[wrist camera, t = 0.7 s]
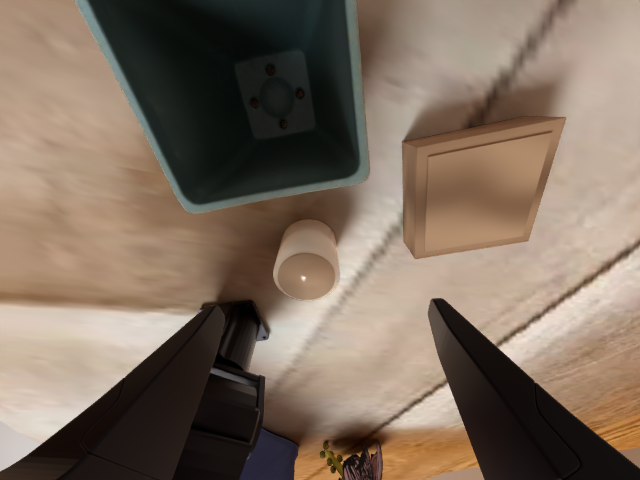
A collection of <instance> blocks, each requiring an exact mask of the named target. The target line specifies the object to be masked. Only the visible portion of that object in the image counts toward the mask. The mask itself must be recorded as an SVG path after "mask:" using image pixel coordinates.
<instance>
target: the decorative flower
mask: <svg viewBox="0 0 640 480" xmlns="http://www.w3.org/2000/svg"><path fill="white" fill-rule="evenodd" d="M364 443H365V442H364ZM328 447H329V446H328V443H326V442H325V443H324V444H323V448H324V449H328ZM363 447H364V448H363V449H362V451H363V452H362V454H361V457H359V456H358V455H356V454H355V455H352V456H350V457H349V458H347V459H346V460H345V461H343V462H344V463H343V466H342V464H341V463H340V462H342V460H343V459H342V456H341V455H337V459H336V458H335V457H334V453H333V452H332V451H330V452H329V451H327V450H324V451H325V452H324V451H321V452H320V457H321V458H322V459H323V458H324V457H325V453H326V454H327V456H328V459H327V464H328V466H331V465H332V464H333V466H331V469H330V470H331V472H332V473H335V472H336V469H337V471H338V472H339V473H340V475H341V476H342V479H341V478H340V477H339V480H381V479H382V470H383V461H382V451H381V446H380V442H379V441H378V440H377V451H376V453H375V454H371V459H370V456H369V452H368V449H367V446H366V444H365V445H363Z"/></svg>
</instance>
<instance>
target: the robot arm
mask: <svg viewBox="0 0 640 480" xmlns="http://www.w3.org/2000/svg"><path fill="white" fill-rule="evenodd" d="M248 304H249V305H248ZM428 318H429V322H430V326H431V330H432V334H433V337H434V341H435V345H436V349H437V353H438V356H439V359H440V362H441V365H442V367H443V370H444V373H445V375H446V378H447V381H448V383H449V386H450V389H451V391H452V394H453V397H454V399H455V402H456V405H457V407H458V410H459V413H460V415H461V418H462V421H463V423H464V426H465V429H466V431H467V434H468V437H469V439H470V442H471V445H472V447H473V450H474V453H475V455H476V458H477V461H478V463H479V466H480V469H481V471H482V474H483V477H484V479H485V480H640V468H639V467H637V466H636V465H635V464H634V463H632V462H631V461H629V459H627V458H626V457H625V456H624V455H622V454H621V453H620V452H618V451H617V450H616V449H615V448H613V447H612V446H611V445H610V444H608V443H607V442H606V441H605V440H603V439H602V438H601V437H600V436H598V435H597V434H596V433H595V432H594V431H592V430H591V429H590V428H589V427H587V426H586V425H585V424H584V423H583V422H581V421H580V420H579V419H578V418H576V417H575V416H574V415H573V414H572V413H570V412H569V411H568V410H567V409H566V408H565V407H563V406H562V405H561V404H560V403H559V402H558V401H557V400H555V399H554V398H553V397H552V396H551V395H550V394H549V393H548V392H546V391H545V390H544V389H543V388H542V387H541V386H540V385H539V384H537V383H535V382H534V380H533V379H532V378H531V377H530V376H528V375H527V374H526V373H525V372H524V371H523V370H522V369H521V368H520V367H519V366H517V365H516V364H515V363H514V362H513V361H512V360H511V359H510V358H509V357H507V356H506V355H505V354H504V353H503V352H502V351H501V350H500V349H499V348H497V347H496V346H495V345H494V344H493V343H492V342H491V341H490V340H489V339H487V338H486V337H485V336H484V335H483V334H482V333H481V332H480V331H479V330H477V329H476V328H475V327H474V326H473V325H472V324H471V323H470V322H469V321H467V320H466V319H465V318H464V317H463V316H462V315H461V314H460V313H459V312H457V311H456V310H455V309H454V308H453V307H452V306H451V305H450V304H449V303H447V302H446V301H445V300H444V299H442V298H433V299H431V301H430V305H429V309H428ZM268 338H269V333H268V331H267V329H266V327H265V325H264V323H263V321H262V319H261V317H260V314H259V312H258V310H257V308H256V306H255V304H254V302H253V301H251V300H247V301H240V302H234V303H227V304H220V305H208V306H207V307H202V308H200V310H199V312H198V314H197V315H196V316H195V317H194V318H193V319H191V320H190V321H189V322H188V323H187V324H186V325H185V326H183V327H182V328H181V329H180V330H179V331H178V332H176V333H175V334H174V335H173V336H172V337H171V338H169V339H168V340H167V341H166V342H165V343H164V344H163V345H161V346H160V347H159V348H158V349H157V350H156V351H154V352H153V353H152V354H151V355H150V356H149V357H147V358H146V359H145V360H144V361H143V362H142V363H141V364H139V365H138V366H137V367H136V368H135V369H134V370H132V371H131V372H130V373H129V374H128V375H127V376H126V377H125V378H123V379H122V380H121V381H120V382H118V383H117V384H116V385H115V386H114V387H113V388H111V389H110V390H109V391H108V392H107V393H105V394H104V395H103V396H102V397H101V398H100V399H98V400H97V401H96V402H95V403H93V404H92V405H91V406H90V407H88V408H87V409H86V410H85V411H83V412H82V413H81V414H80V415H78V416H77V417H76V418H74V419H73V420H72V421H71V422H69V423H68V424H67V425H66V426H64V427H63V428H62V429H60V430H59V431H58V432H57V433H55V434H54V435H53V436H51V437H50V438H49V439H48V440H46V441H45V442H44V443H42V444H41V445H40V446H39V447H37V448H36V449H35V450H33V451H32V452H31V453H29V454H28V455H27V456H25V457H24V458H22V459H21V460H19V461H18V462H16V463H15V464H13V465H11V466H10V467H8V468H6V469H4V470H2V471H1V472H0V480H239V479H240V476H241V473H242V470H243V468H244V465H245V462H246V460H247V459H248V458H249V457H250V456H251V454H252V452H253V450H254V448H255V446H256V444H257V441H258V438H259V435H260V431H261V427H262V422H263V412H264V389H265V377H264V376H261V375H259V376H258V375H255V374H252V373H249V372H248V369H249V366H250V362H251V358H252V355H253V351H254V347H255V344H256V341H262V340H267V339H268Z"/></svg>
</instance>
